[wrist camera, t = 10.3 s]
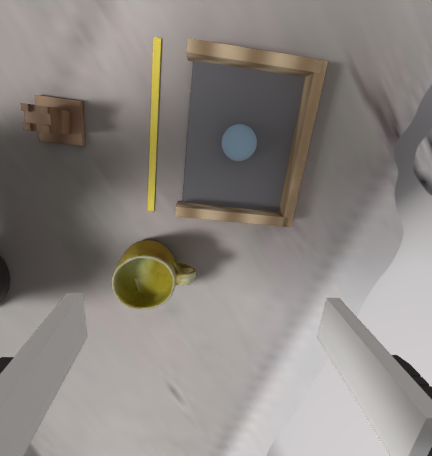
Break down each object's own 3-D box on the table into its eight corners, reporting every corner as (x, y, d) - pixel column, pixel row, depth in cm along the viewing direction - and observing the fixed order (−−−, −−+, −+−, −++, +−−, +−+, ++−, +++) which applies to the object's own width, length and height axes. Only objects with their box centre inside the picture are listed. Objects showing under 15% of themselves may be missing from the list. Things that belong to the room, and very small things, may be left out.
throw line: (147, 210, 42) (147, 210, 42) (153, 37, 35) (153, 37, 34) (153, 210, 42) (153, 211, 42) (161, 38, 35) (161, 38, 34)
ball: (212, 157, 38) (236, 162, 34) (216, 121, 36) (242, 122, 33) (236, 159, 41) (260, 163, 38) (241, 126, 39) (266, 127, 36)
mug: (111, 293, 45) (106, 314, 35) (120, 234, 45) (117, 240, 35) (180, 297, 49) (192, 317, 39) (189, 243, 48) (202, 250, 39)
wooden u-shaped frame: (177, 210, 42) (175, 216, 39) (188, 47, 35) (187, 38, 32) (284, 220, 44) (291, 227, 41) (316, 67, 37) (328, 60, 34)
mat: (182, 201, 42) (182, 202, 42) (193, 61, 36) (193, 60, 35) (277, 211, 44) (278, 212, 43) (304, 77, 37) (305, 77, 37)
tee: (42, 140, 38) (12, 141, 32) (38, 95, 36) (5, 87, 30) (84, 145, 38) (63, 147, 32) (83, 101, 37) (59, 94, 30)
